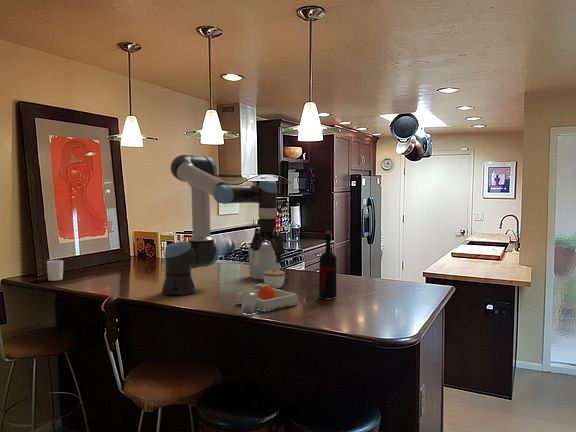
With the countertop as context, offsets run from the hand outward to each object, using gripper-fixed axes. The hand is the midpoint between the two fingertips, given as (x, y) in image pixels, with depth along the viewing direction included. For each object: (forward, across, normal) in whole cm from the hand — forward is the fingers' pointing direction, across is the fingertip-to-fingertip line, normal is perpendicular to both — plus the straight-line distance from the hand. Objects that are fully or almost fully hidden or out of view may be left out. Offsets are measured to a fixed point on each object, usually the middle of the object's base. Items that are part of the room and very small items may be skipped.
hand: (266, 268), depth 191 cm
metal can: (+15, -7, +14) cm, 22 cm away
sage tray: (+16, -1, 0) cm, 16 cm away
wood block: (+16, +13, -8) cm, 22 cm away
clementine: (+15, 0, 0) cm, 15 cm away
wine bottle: (+15, -10, -27) cm, 33 cm away
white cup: (+18, +113, +53) cm, 126 cm away
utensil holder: (+17, +47, -35) cm, 61 cm away
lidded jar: (+16, +22, -23) cm, 36 cm away
